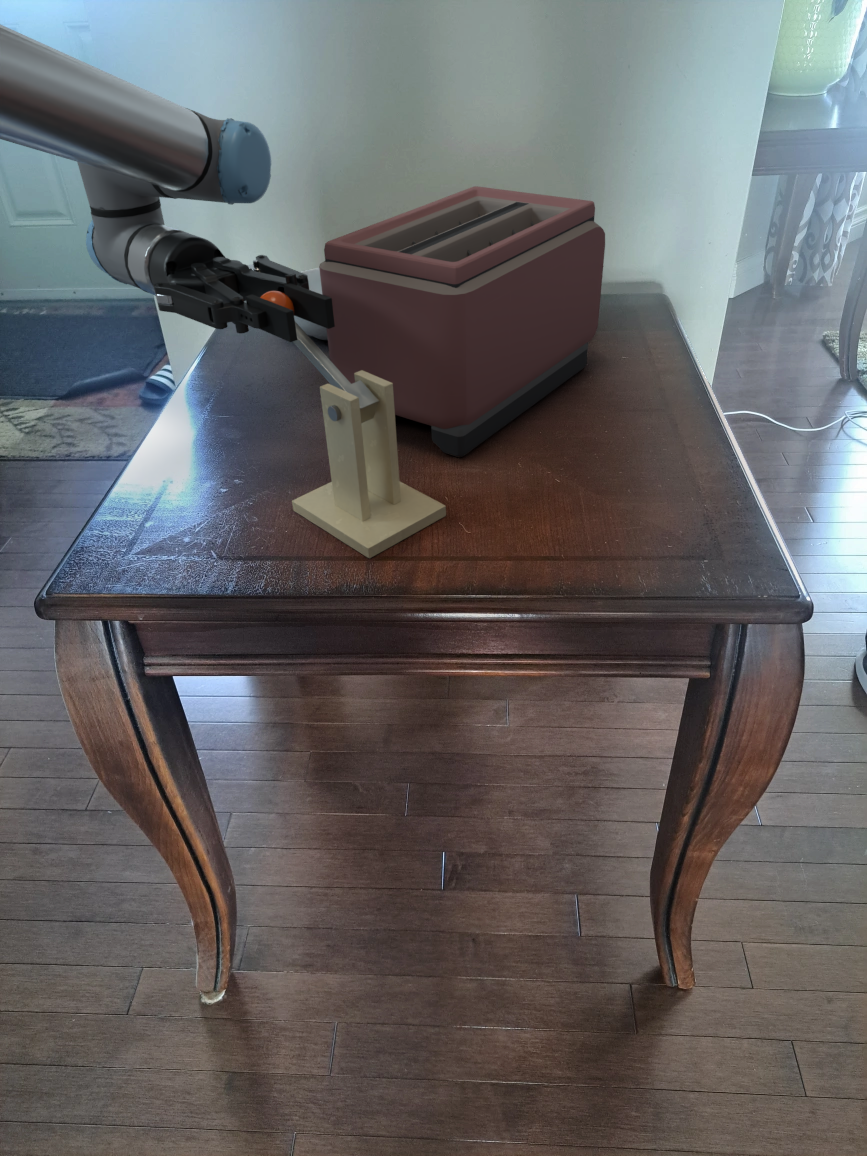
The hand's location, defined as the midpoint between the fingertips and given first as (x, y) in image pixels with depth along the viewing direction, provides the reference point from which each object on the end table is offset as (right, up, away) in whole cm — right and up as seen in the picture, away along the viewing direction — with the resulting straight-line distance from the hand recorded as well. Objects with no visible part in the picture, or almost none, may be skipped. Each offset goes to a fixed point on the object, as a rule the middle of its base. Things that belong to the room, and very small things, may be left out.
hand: (311, 319), depth 75 cm
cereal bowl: (-3, +13, +47) cm, 49 cm away
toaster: (+17, +1, +30) cm, 35 cm away
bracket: (+5, -17, +8) cm, 19 cm away
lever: (-1, -4, +4) cm, 5 cm away
